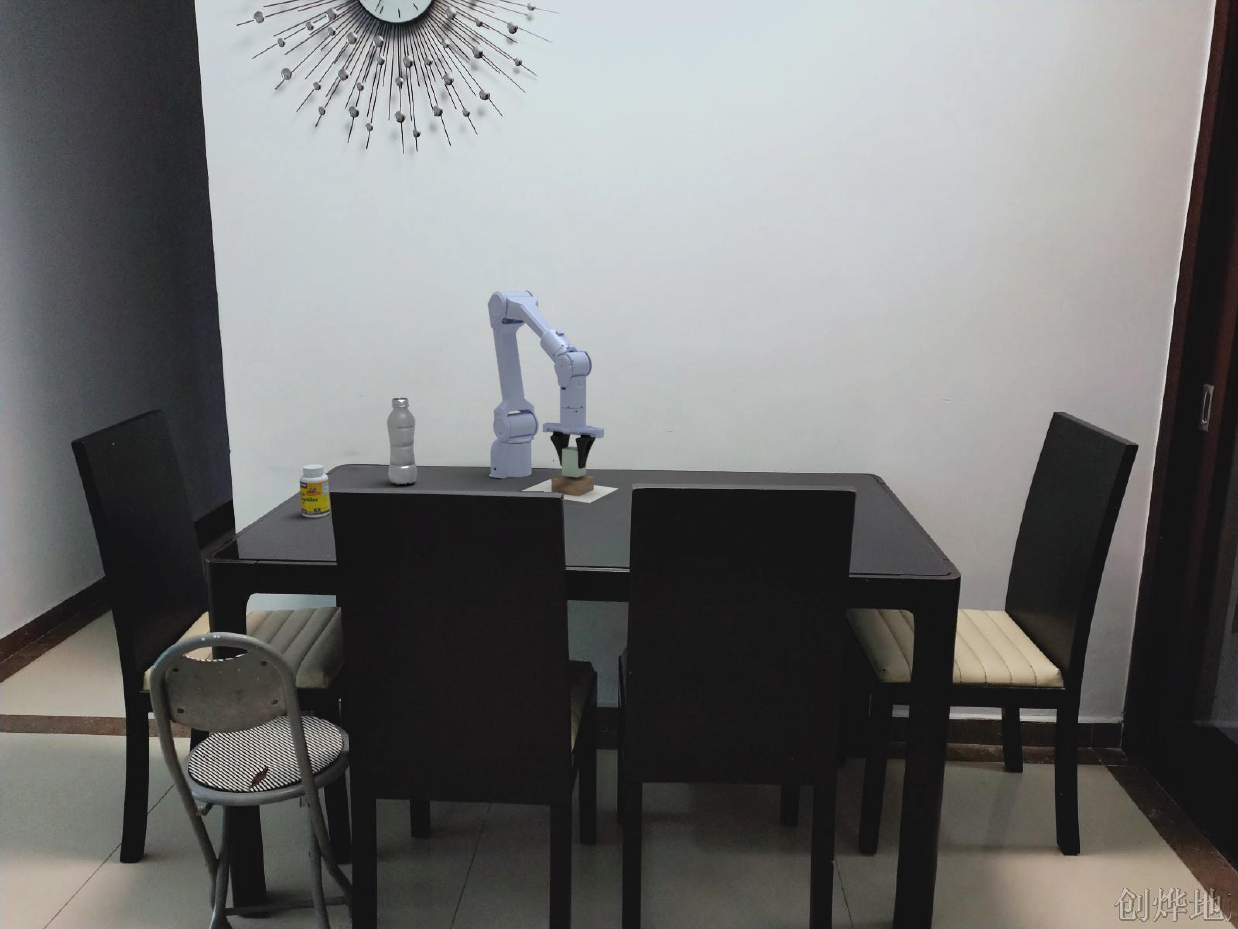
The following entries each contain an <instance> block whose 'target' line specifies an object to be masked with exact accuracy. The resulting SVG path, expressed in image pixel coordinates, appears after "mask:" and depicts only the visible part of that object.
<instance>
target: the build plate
mask: <svg viewBox="0 0 1238 929" xmlns="http://www.w3.org/2000/svg"><path fill="white" fill-rule="evenodd" d="M551 479H552V478H550V479H548V480H545V481H542V482H540V483H538V484H534V485H533V486H530V487H527V488H525V489H523V490H522V491H544V492H551ZM617 490H619V487H617V488H616V487H609V486H603V485H596V484H594V490H592V491H590V492H587V493H585V494H583V495H581V496H572V495H565V494H564V499H563V500H566V501H567V500H568V501H573V502H580V503H581V502H582V503H587V504H590V503H592V502H595V501H596V500H599V499H601V498H602V497H605V496H607V495H609V494H610V493H613V492H614V491H617Z"/></svg>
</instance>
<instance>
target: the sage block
mask: <svg viewBox="0 0 1238 929" xmlns="http://www.w3.org/2000/svg"><path fill="white" fill-rule="evenodd" d="M586 474H587V465H586V466H585V467H584V468H582V469H579V468H578V450H577V446H574V445H570V446H568V447H567V448H564V449H562V466H561V475H563V476H571V477H580V476H583V475H586Z"/></svg>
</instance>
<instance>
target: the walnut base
mask: <svg viewBox="0 0 1238 929" xmlns="http://www.w3.org/2000/svg"><path fill="white" fill-rule="evenodd" d="M550 479H551V492H558V493H563V494H565V495H572V496H581V495H583V494H585V493H587V492H590V491H592V490H594V485H595V476H591V475H586V474H585V475H583V476H580V477H571V476H563V475H562V474H561V475H559V476H556V477H554V478H550Z"/></svg>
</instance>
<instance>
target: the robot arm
mask: <svg viewBox="0 0 1238 929" xmlns="http://www.w3.org/2000/svg"><path fill="white" fill-rule="evenodd" d="M487 307H488V308H487V309H488V316H489V324H490V328H491V329H492V334H493V340H494V341H493V342H494V349H495V356H496V363H497V364H496V365H497V369H498V378H499V379H498V380H499V384H500V385H499V386H500V393H501V400H502V401H501V402H500V403H499V404H498V405H497V406H496V407H495V409H493V423H492V427H493V428H492V429H493V433H494V435H495V437H496V439H494V441H493V442H492V443H491V447H490V474H489V475H488V476H489V478H496V479H497V478H498V479H506V478H508V477H509V478H511V477H512V478H523V477H524V478H525V477H528V476H530V475H532V471H533V469H532V465H533V464H532V463H533V462H532V441H533V440H535V439H534V438H535V436H536V435H537V434H538V432H539V428H540V427H539V426H540V423H539V422H540V421H539V419H538V417H537V414H536V411H535V405H533V403H531V402H530V401H528V400H527V399H526V398H525V392H524V391H525V390H524V385H523V384H524V383H523V378H522V370H521V369H522V368H521V360H520V355H519V354H520V353H519V348H518V339H517V338H518V337H517V332H518V331H519V329H520V328H522V327H523V326H524V325H525V324H526V325H527V326H528V327H529V328H530V329H531V331H533V333H534V334H536V336H538V337H539V339H540V341H539V343H540V344H539V346H540V347H541V349H542V350H543V351H544V352H545V353H546V355H547V356H548V357H549V358H550V360H551V361H552V362H553V363H554V364H553V367H554V372H555V375H556V377H557V384H558V385H557V386H559V422H548V421H547V422H544V423H542V433H552V434H551V435H550V438H549V439H550V441H551V443H552V444H553V446H554V448H555V451H556V453H557V457H558V460H559V465H560V467H562V449H564V448H567V447H569V444H570V438H571V435H572V436H578V437H576V438H575V439H574V440H575V444H576V447H577V450H578V468H579V469H582V468H584V467H585V466H586V467H587V461H588V457H589V454H590V452H591V449H592V447H593V445H594V443H595V441H596V439H602V438H604V437H605V429H604V428H602V427H596V426H591V425H587V377H588V376H589V375H590V374H591V372H592V367H593V364H592V363H593V361H592V358H591V356H590V355H589V353H588V352H587V351H586V350H581V349H580V348H576V346H575V345H574V344H573V343H572V342H571V341H570V339H569V338H568V337H567V335H565V332H564V331H563V330H562V329H558V328H553V327H552V325H551V323H549V321H548V320H547V318H546V317H545V315H544V314H543V312H542V311H541V310H540V308H539V300H538V298H537V297H536V296H535V295H534V293H533V291H530V290H527V289H526V290H523V291H521V290H518V291H500V290H497V291H495V292H492V294H491V296H490V297H489V300H488V302H487ZM510 412H513V413H510Z"/></svg>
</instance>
